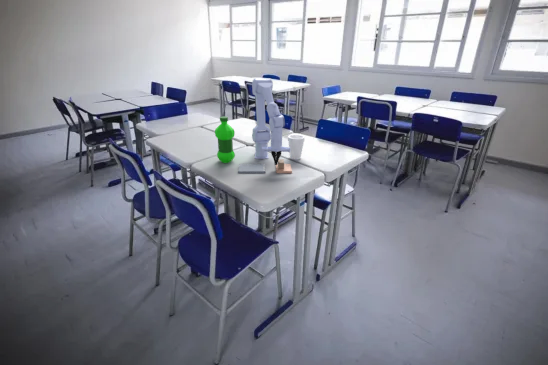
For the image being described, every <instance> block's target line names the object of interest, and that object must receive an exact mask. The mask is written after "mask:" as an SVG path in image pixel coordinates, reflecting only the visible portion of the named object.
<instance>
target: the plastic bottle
mask: <svg viewBox="0 0 548 365" xmlns="http://www.w3.org/2000/svg"><path fill="white" fill-rule="evenodd" d="M219 121H220V124H219V125H218V126H217V127H216V128H215V130H214V135H215V137H216V139H217V146H218V147H217V148H218V150H217V153H216V156H217V159H218V161H219V162H221V163H223V164H229V163H231V162H232V161H233V160H234V158H235V157H236V153H235V152H234V147H233V138H234V137H235V135H236V134H235V133H236V132H235V130H234V128H233V127H232V126H231V125H229V123H228V122H229V116H220V117H219Z"/></svg>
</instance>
